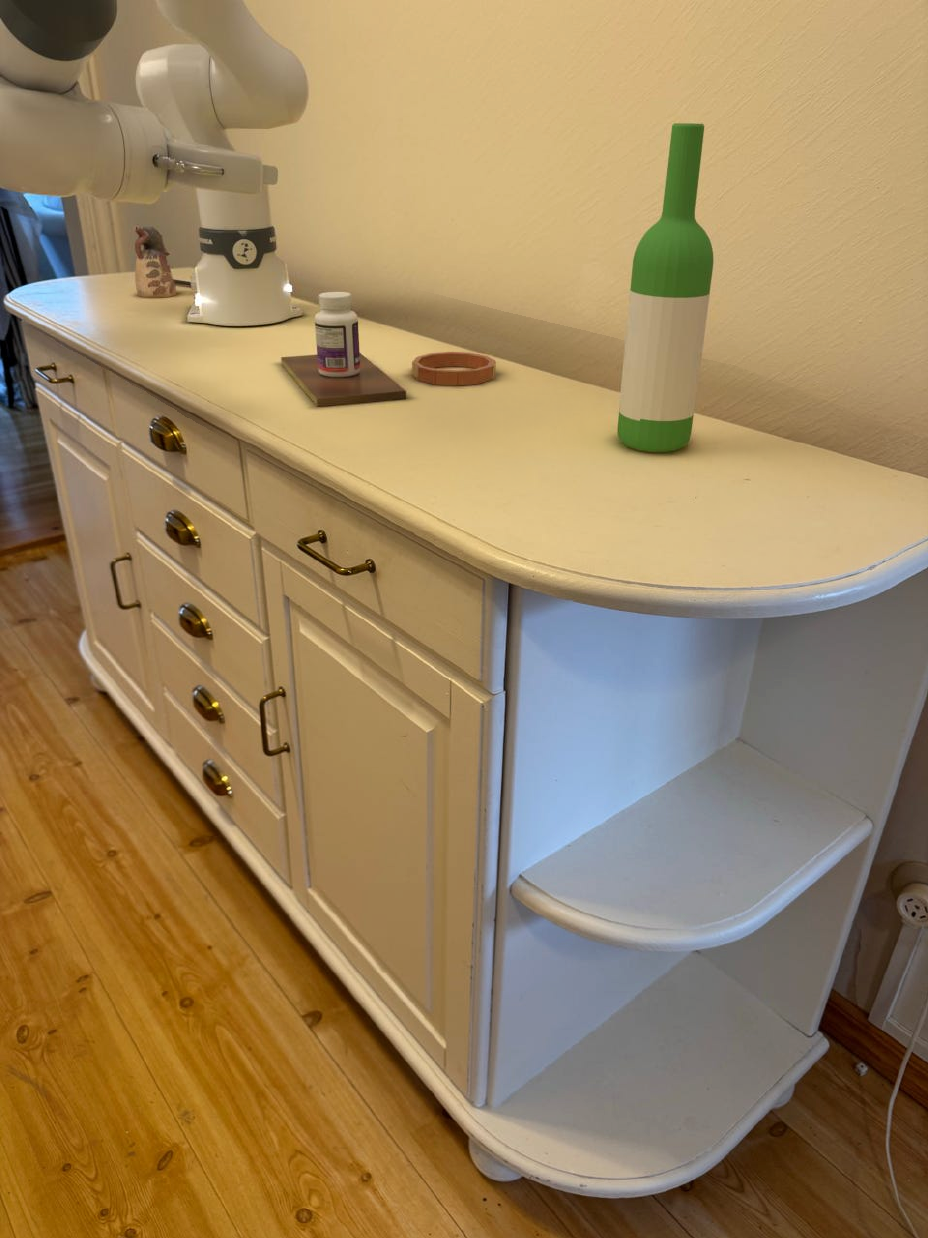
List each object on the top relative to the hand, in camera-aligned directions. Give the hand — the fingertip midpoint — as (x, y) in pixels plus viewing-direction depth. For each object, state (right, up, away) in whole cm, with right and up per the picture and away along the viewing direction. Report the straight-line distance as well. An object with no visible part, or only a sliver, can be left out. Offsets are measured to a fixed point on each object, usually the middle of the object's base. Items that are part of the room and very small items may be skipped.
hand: (248, 169), depth 102 cm
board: (+8, -19, +18) cm, 27 cm away
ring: (+22, -17, +21) cm, 35 cm away
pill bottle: (+8, -18, +17) cm, 26 cm away
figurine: (-34, +11, +71) cm, 80 cm away
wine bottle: (+44, -31, -4) cm, 54 cm away
